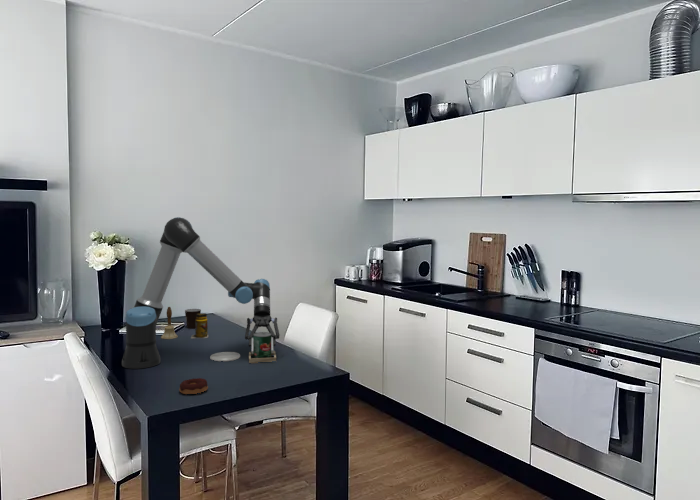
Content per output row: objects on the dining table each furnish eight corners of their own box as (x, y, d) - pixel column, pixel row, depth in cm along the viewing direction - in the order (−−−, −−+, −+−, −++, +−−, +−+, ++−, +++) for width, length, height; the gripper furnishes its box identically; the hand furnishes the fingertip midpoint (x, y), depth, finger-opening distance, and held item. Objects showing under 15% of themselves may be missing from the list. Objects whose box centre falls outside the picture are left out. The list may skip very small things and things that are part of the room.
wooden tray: (276, 362, 217) (276, 357, 217) (249, 363, 215) (249, 359, 215) (275, 355, 228) (275, 350, 228) (249, 356, 226) (249, 351, 226)
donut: (172, 394, 178) (172, 383, 177) (191, 385, 187) (190, 375, 186) (196, 398, 174) (196, 386, 174) (213, 389, 183) (213, 378, 183)
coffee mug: (198, 329, 277) (198, 311, 276) (182, 329, 277) (182, 311, 277) (204, 325, 289) (204, 307, 288) (189, 324, 289) (189, 307, 288)
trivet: (231, 362, 216) (231, 360, 216) (204, 360, 219) (204, 358, 219) (245, 354, 228) (245, 353, 228) (219, 352, 231) (219, 350, 231)
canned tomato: (267, 361, 217) (267, 336, 216) (250, 360, 218) (250, 335, 218) (273, 356, 225) (274, 332, 224) (257, 355, 226) (257, 331, 225)
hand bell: (180, 337, 259) (180, 306, 258) (165, 340, 253) (165, 308, 252) (172, 334, 264) (172, 304, 263) (157, 337, 258) (157, 306, 257)
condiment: (207, 338, 258) (207, 315, 258) (190, 338, 257) (190, 315, 256) (208, 334, 266) (208, 312, 265) (191, 335, 264) (191, 312, 263)
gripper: (284, 313, 237) (285, 355, 223) (239, 313, 233) (238, 357, 219) (284, 303, 232) (286, 347, 217) (239, 304, 228) (238, 348, 213)
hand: (262, 352), depth 218 cm, fingers closed on canned tomato, 8 cm apart
